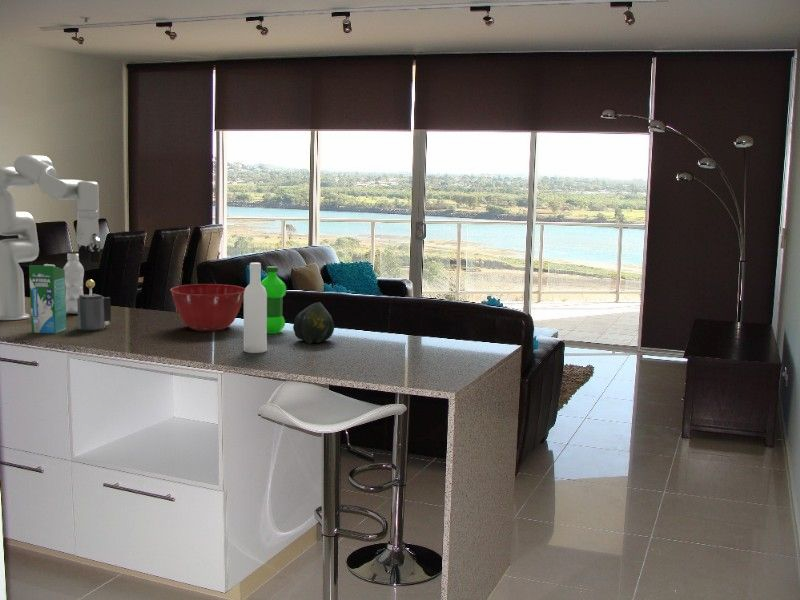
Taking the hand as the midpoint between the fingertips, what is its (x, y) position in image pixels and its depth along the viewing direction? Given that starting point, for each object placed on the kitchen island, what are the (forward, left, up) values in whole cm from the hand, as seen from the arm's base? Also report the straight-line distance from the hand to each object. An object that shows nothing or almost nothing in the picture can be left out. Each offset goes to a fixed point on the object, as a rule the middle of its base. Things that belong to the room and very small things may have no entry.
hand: (88, 260), depth 326 cm
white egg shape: (-7, +7, -26) cm, 28 cm away
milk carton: (-4, -14, -26) cm, 30 cm away
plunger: (+1, 0, -23) cm, 23 cm away
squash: (+71, +51, -26) cm, 91 cm away
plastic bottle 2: (+47, +50, -26) cm, 73 cm away
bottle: (+72, +25, -26) cm, 80 cm away
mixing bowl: (+25, +36, -26) cm, 51 cm away
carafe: (+1, +2, -26) cm, 26 cm away
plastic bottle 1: (-36, +10, -26) cm, 46 cm away
